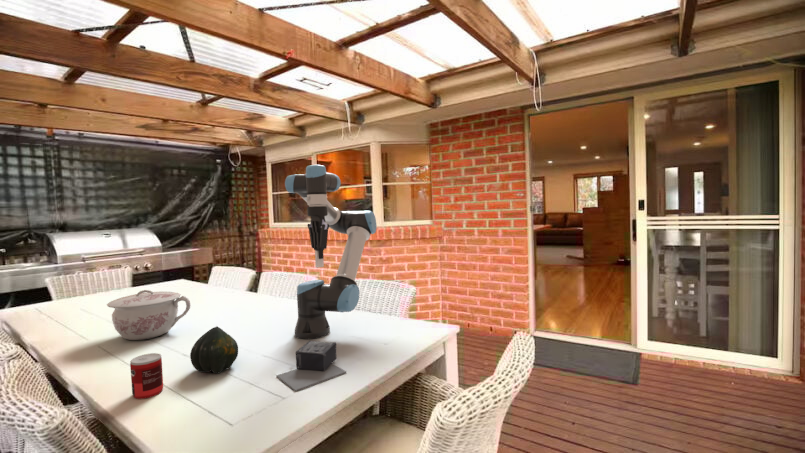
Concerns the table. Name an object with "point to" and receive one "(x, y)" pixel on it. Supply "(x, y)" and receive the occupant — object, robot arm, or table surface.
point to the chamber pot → (146, 314)
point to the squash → (214, 351)
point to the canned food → (146, 375)
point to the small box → (316, 355)
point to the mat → (309, 377)
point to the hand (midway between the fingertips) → (319, 266)
